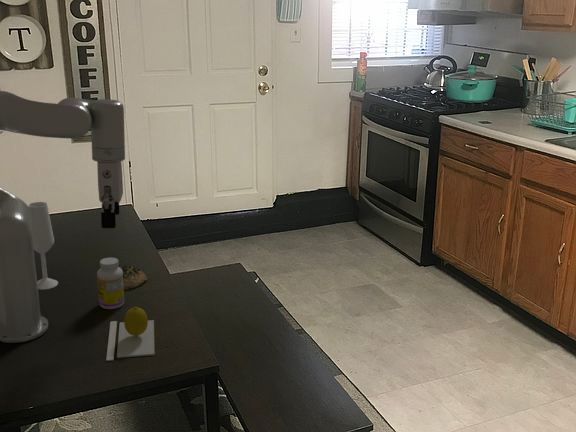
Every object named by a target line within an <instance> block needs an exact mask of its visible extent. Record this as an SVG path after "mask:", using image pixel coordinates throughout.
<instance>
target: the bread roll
mask: <svg viewBox="0 0 576 432" xmlns="http://www.w3.org/2000/svg"><path fill="white" fill-rule="evenodd" d="M119 268H121V269H122V271H123V286H124V290H129V288H131V289H134V288H133V287H135V288H138V287H140V286H141V285H142V284H143V283H144V282H145V281H147V280H148V277H147V275H146V274H145V273H144V272H143V271H142V270H140V269H139V268H138V267H135V266H133V265H130V266H127V265H123V266H120V267H119ZM139 285H140V286H139ZM137 286H138V287H137Z"/></svg>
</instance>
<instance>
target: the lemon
mask: <svg viewBox="0 0 576 432" xmlns="http://www.w3.org/2000/svg"><path fill="white" fill-rule="evenodd" d="M123 322H124V325H125V329H126V331H127V332H128V333H129V334H131V335H134V336H136V337H137V336H139V335H141V334H142V333H144V332H145V330H146V328H147V325H148V315H147V313H146V311H145V310H144V309H142V307H141V308H140V307H137V306H134V307H132V308H130V309H128V310H127V311H126V313H125V316H124V321H123Z"/></svg>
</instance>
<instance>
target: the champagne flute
mask: <svg viewBox="0 0 576 432" xmlns="http://www.w3.org/2000/svg"><path fill="white" fill-rule="evenodd" d="M28 207H29V209H30V212H31V221H32V238H33V249H34V252H36V253H38V254H40V262H41V271H42V278H41V279H39V280H37V285H38V290H49V289H52V288H55V287H57V286H58V285H59V281H58V280H56V279H53V278H49V277H48V272H47V259H46V253H47V252H48V251H49V250H50V249H52V247H53V245H54V244H55V237H54V233H53V227H52V222H51V217H50V212H49V207H48V203H47V202H45V201H35V202H30V203H29V204H28Z"/></svg>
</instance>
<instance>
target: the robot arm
mask: <svg viewBox="0 0 576 432" xmlns="http://www.w3.org/2000/svg"><path fill="white" fill-rule="evenodd" d="M0 131H5V132H9V133H14V134H21V135H27V136H33V137H40V138H56V139H78V138H82V137H84V136H85V135H87V134H88V133H89V131H90V135H91V136H90V139H91V159H92V160H93V161H94V162H97V169H96V170H97V187H98V188H97V190H98V200H99V202H100V203H101V212H100V218H101V219H100V220H101V221H100V222H101V228H102V229H116V225H117V220H116V219H117V218H116V216H118V215H119V214H120V202H121V201H122V198H123V194H124V186H123V185H124V184H123V166H122V165H123V164H122V162H123V161H125V160H126V144H125V141H126V140H125V138H126V137H125V135H126V134H125V107H124V104H123V103H122V102H121V101H120V100H116V99H108V98H106V99H105V98H104V99H103V98H102V99H95V100H94V99H85V98H78V97H66V98H64V99H61V100H60V101H58V103H55V102H54V103H53V102H43V101H35V100H30V99H27V98H25V97H22V96H18V95H17V94H15V93H13V92H10V91H5V90H0ZM35 259H36V258H35V250H34V249H33V238H32V221H31V212H30V209H29V205H28V204H27V203H26V202H24V200H22V199H21V198H19V197H17V196H16V195H14V194H12V193H11V192H9V191H8V190H6V189H5V188H2V187H1V186H0V342H1V343H7V344H8V343H9V344H16V343H19V344H20V343H24V342H25V343H26V342H28V341H32V340H34V339H35V340H36V338H37V339H38V337H40V336H42V335H43V334H45V333H46V332H47V331H48V329H49V321H48V319H47V318H46V317H44V316H42V315H41V314H42V313H41V306H40V295H39V289H38V285H37V281H38V279H37V269H36V260H35Z"/></svg>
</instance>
